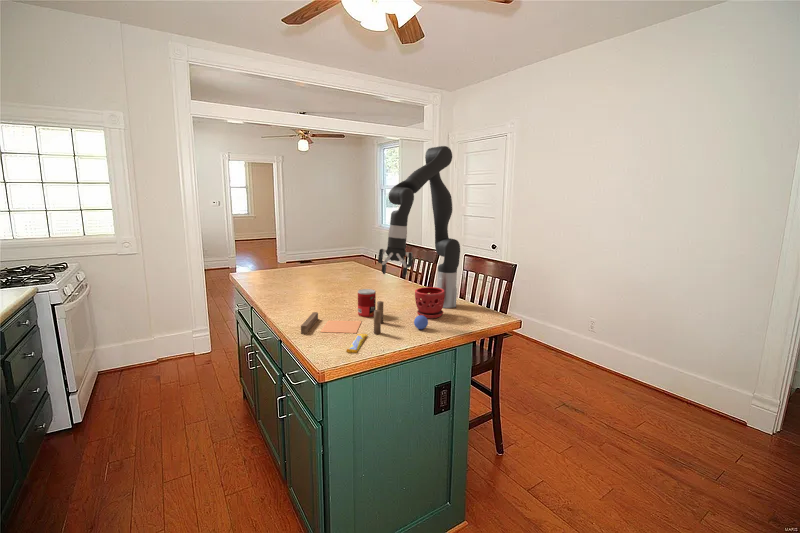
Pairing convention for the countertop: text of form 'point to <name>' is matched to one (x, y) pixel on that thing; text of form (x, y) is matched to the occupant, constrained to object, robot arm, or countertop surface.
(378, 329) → the post
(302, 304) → the countertop surface
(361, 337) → the candy bar
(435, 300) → the plant pot
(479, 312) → the countertop surface
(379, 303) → the post
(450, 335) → the countertop surface
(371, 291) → the canned food
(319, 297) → the countertop surface
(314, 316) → the strip
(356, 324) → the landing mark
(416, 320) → the ball
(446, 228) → the robot arm
